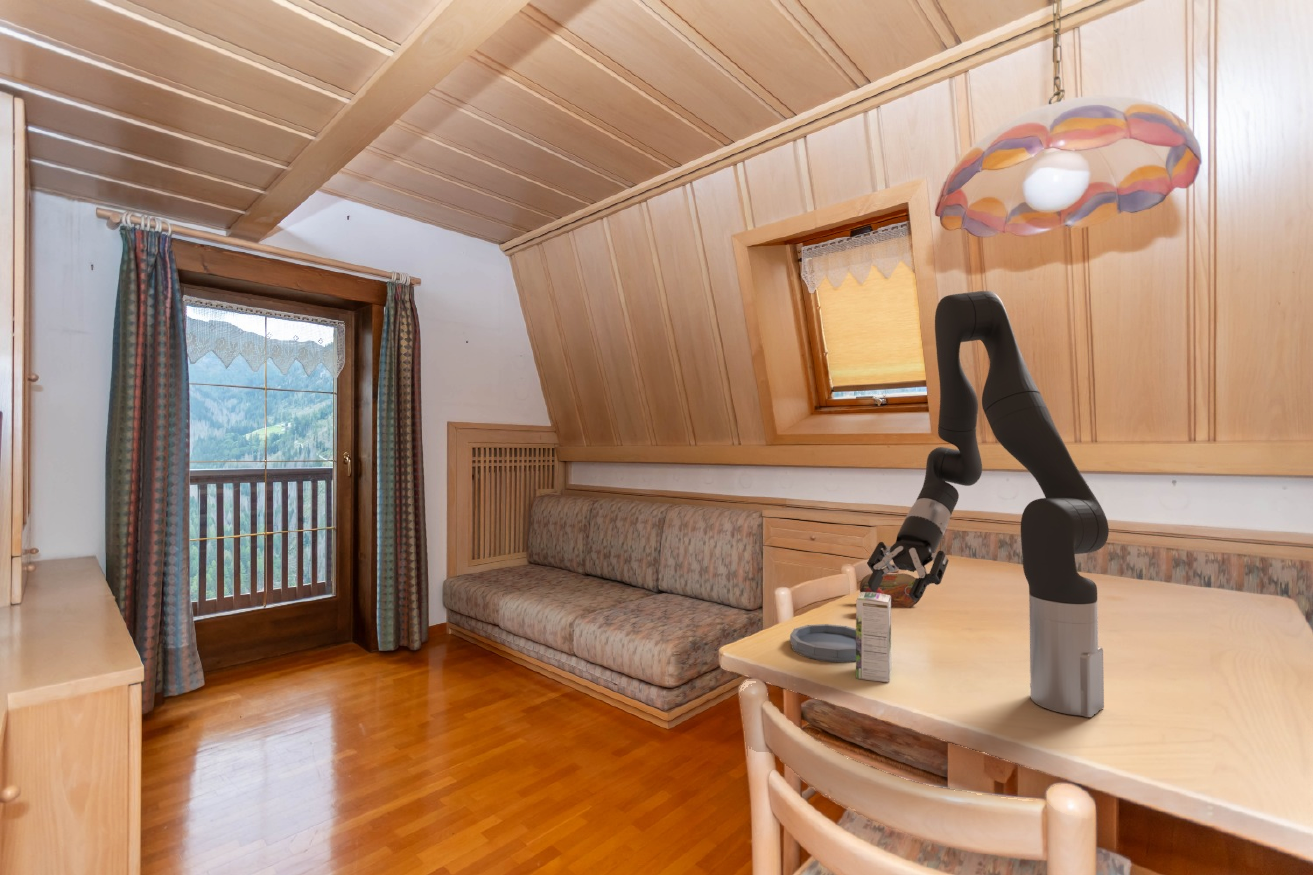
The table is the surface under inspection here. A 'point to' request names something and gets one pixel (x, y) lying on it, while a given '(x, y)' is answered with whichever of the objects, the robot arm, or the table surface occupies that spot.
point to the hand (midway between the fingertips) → (891, 593)
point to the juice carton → (873, 636)
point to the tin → (894, 588)
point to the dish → (825, 642)
